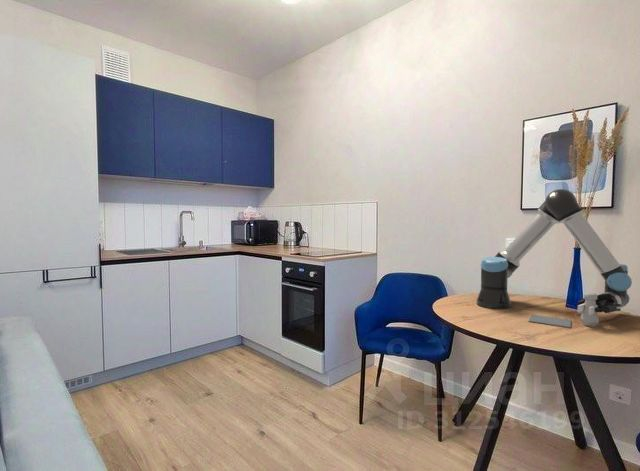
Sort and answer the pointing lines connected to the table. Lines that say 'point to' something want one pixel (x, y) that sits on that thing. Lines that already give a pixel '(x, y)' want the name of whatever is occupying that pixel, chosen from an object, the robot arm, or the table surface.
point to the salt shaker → (586, 317)
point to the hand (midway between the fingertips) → (584, 309)
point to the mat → (550, 321)
